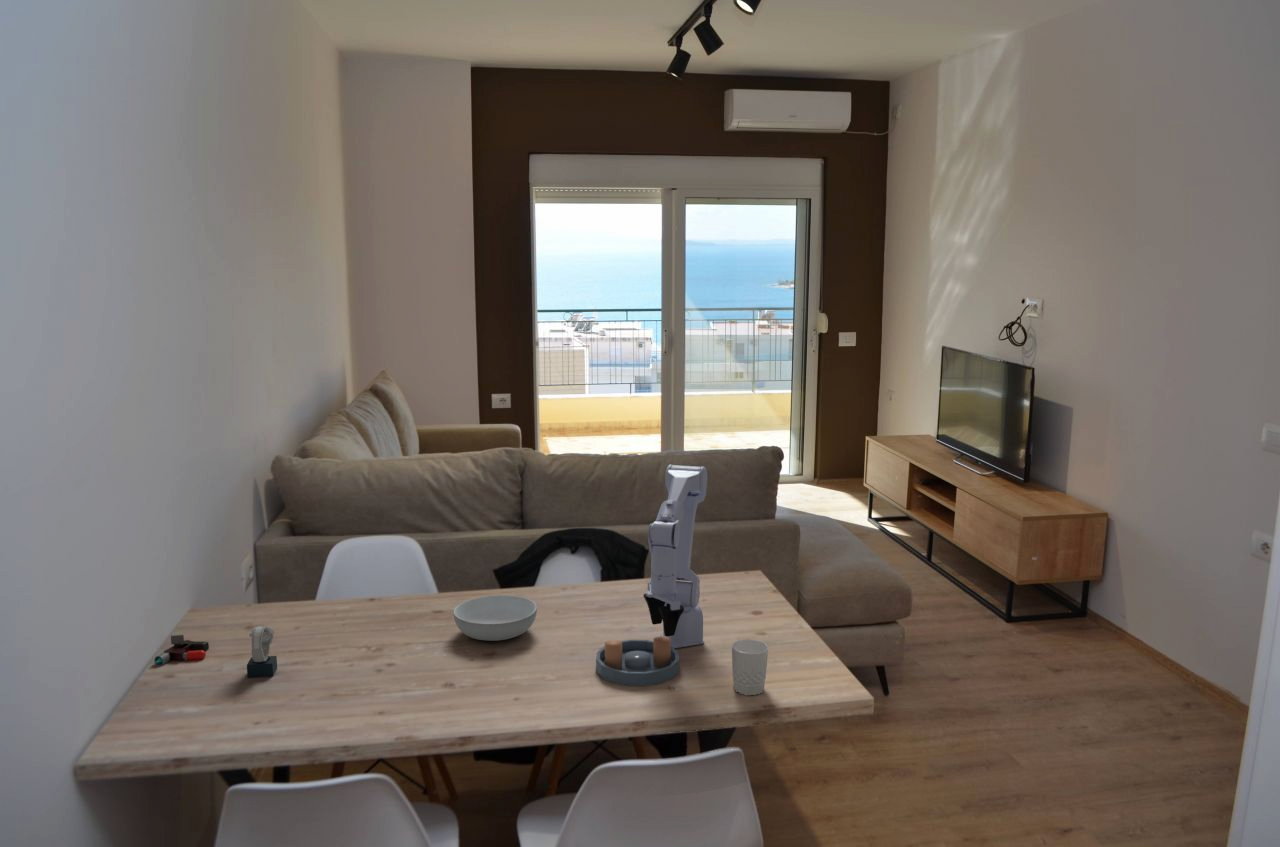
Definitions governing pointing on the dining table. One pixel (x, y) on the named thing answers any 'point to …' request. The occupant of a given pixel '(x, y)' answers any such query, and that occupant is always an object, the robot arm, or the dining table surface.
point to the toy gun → (182, 650)
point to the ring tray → (637, 665)
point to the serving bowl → (495, 617)
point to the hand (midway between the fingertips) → (663, 629)
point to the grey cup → (749, 666)
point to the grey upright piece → (261, 653)
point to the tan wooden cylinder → (613, 654)
